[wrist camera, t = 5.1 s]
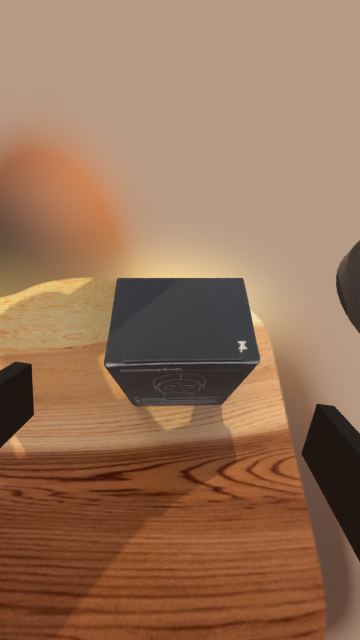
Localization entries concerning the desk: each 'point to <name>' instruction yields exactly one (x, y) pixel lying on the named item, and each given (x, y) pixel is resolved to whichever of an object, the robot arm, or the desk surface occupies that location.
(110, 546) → the desk surface
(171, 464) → the desk surface
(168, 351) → the box
